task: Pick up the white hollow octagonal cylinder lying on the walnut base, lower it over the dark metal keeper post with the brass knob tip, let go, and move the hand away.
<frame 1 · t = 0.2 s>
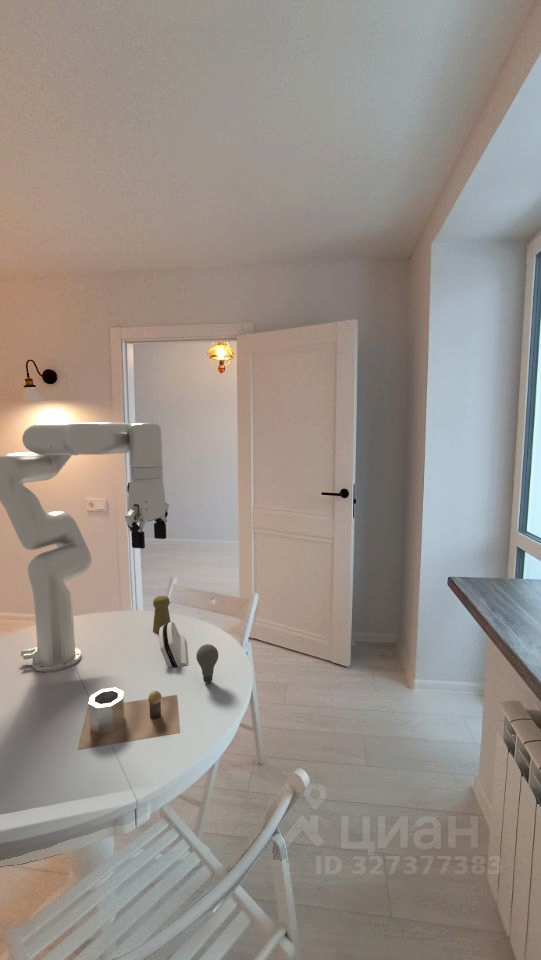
hand: (149, 543, 111), 37 cm above the table, tool pointing down, fingers open, 9 cm apart
light bulb: (208, 683, 115), on the table
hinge: (173, 657, 129), on the table
cork: (162, 630, 146), on the table
white hollow octagonal cylinder: (107, 723, 97), point 1 cm above the table, touching keeper base
keeper base: (132, 726, 98), on the table
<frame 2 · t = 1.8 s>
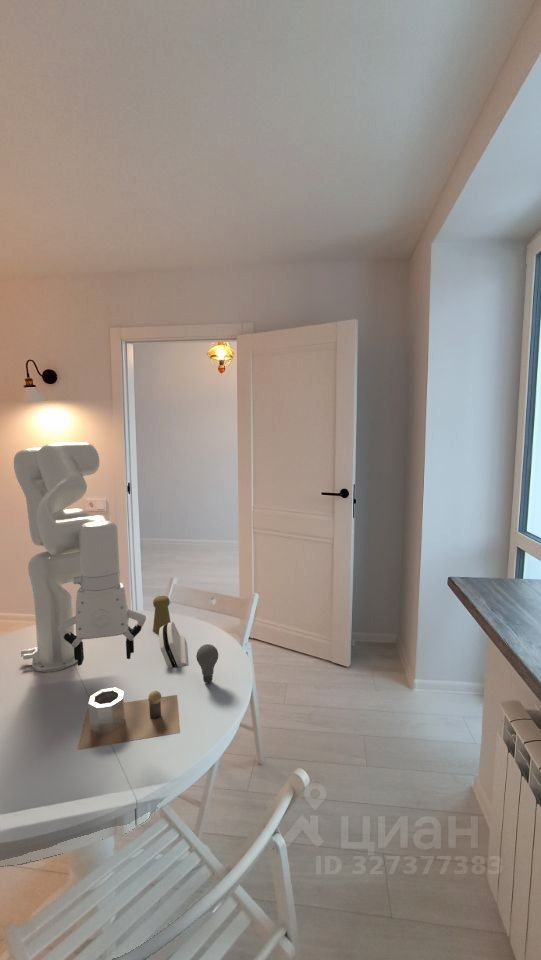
hand: (105, 659, 95), 16 cm above the table, tool pointing down, fingers open, 9 cm apart
nothing on the table moved.
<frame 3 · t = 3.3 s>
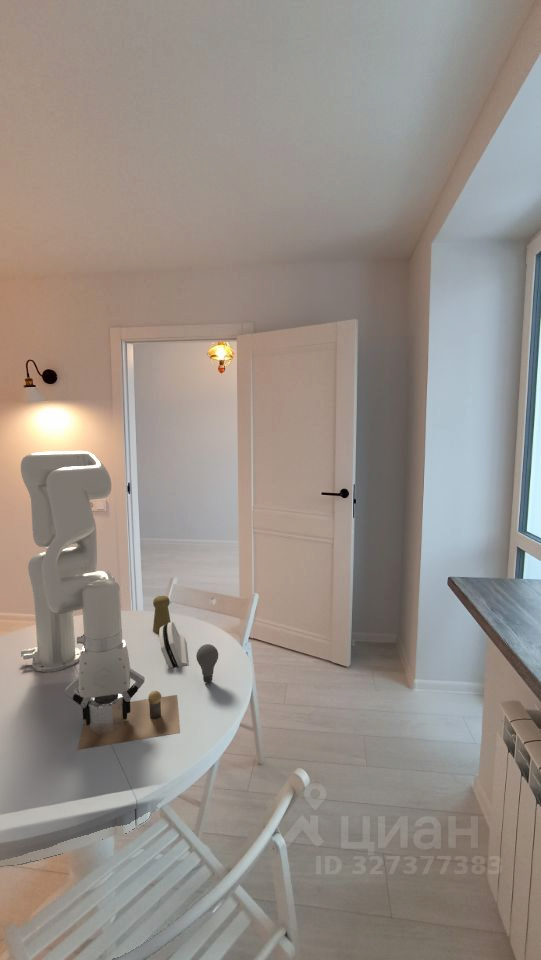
hand: (107, 717, 97), 3 cm above the table, tool pointing down, fingers closed on white hollow octagonal cylinder, 6 cm apart
white hollow octagonal cylinder: (107, 723, 97), point 2 cm above the table, touching gripper, keeper base
everything else where it was.
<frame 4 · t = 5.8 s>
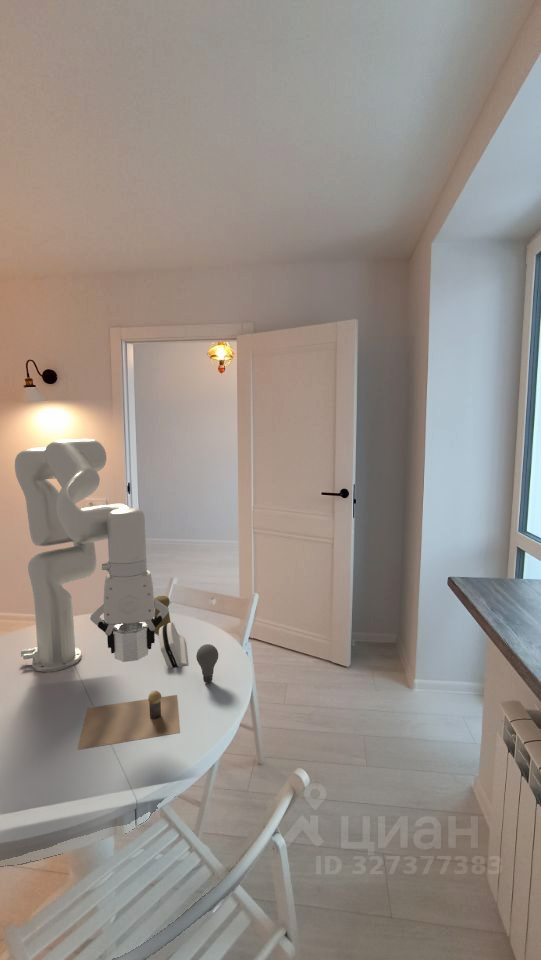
hand: (131, 647, 96), 18 cm above the table, tool pointing down, fingers closed on white hollow octagonal cylinder, 6 cm apart
white hollow octagonal cylinder: (131, 653, 97), point 17 cm above the table, touching gripper
everything else where it was.
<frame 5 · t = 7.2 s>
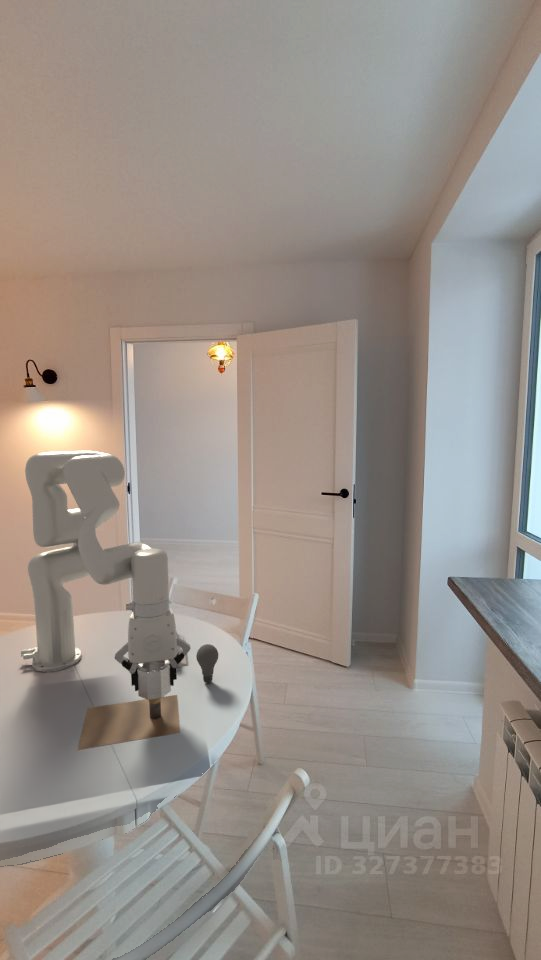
hand: (154, 684, 99), 9 cm above the table, tool pointing down, fingers closed on white hollow octagonal cylinder, 6 cm apart
white hollow octagonal cylinder: (154, 690, 99), point 8 cm above the table, touching gripper
everything else where it was.
when the fingers open (5 cm above the table, at t = 8.4 s): white hollow octagonal cylinder drops 2 cm, resting on keeper base.
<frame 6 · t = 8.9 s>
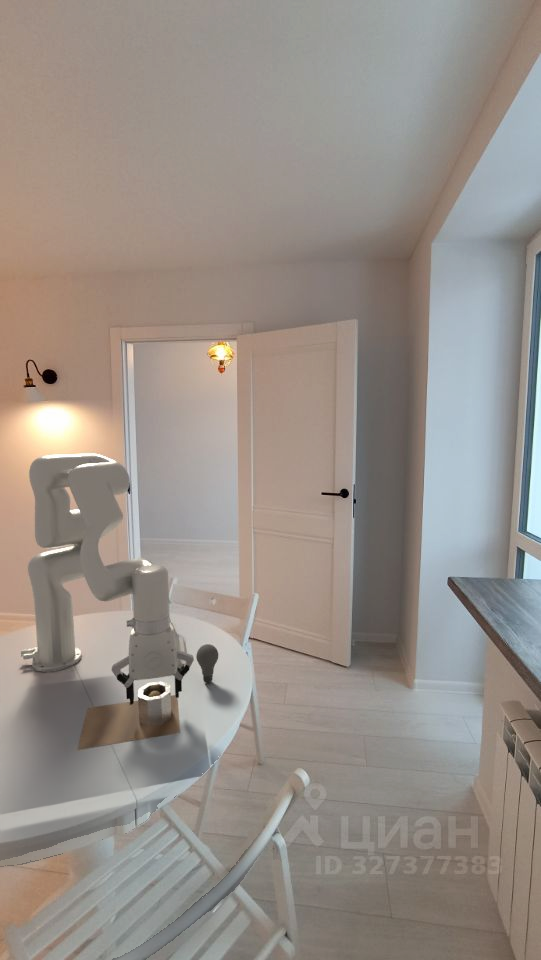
hand: (154, 697, 99), 6 cm above the table, tool pointing down, fingers open, 9 cm apart
white hollow octagonal cylinder: (155, 716, 99), point 1 cm above the table, touching keeper base
everything else where it was.
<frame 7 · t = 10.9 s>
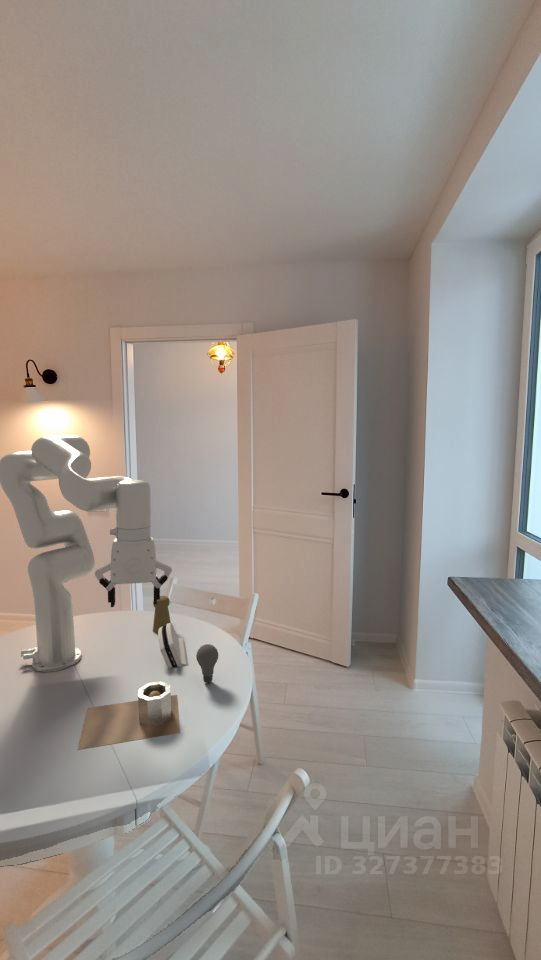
hand: (134, 603, 106), 24 cm above the table, tool pointing down, fingers open, 9 cm apart
nothing on the table moved.
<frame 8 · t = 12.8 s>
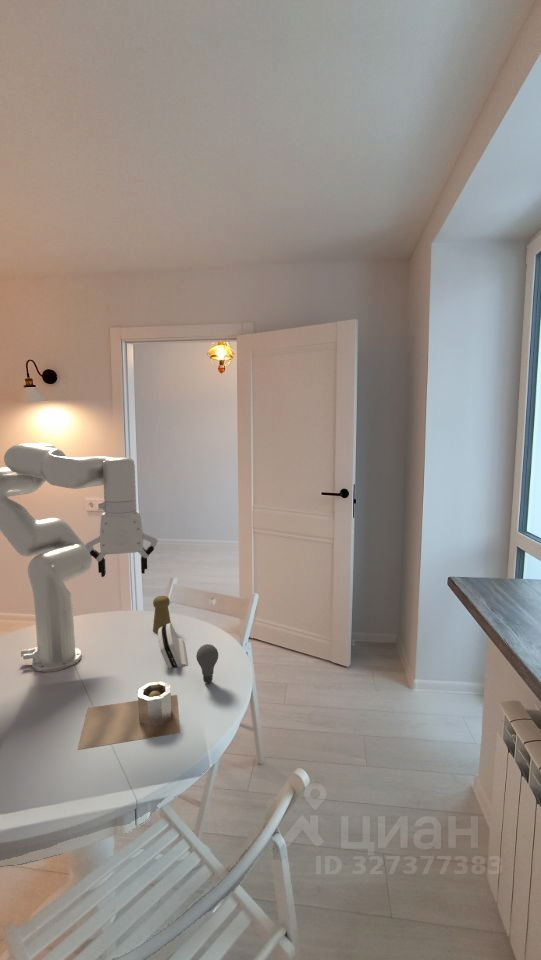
hand: (123, 573, 114), 28 cm above the table, tool pointing down, fingers open, 9 cm apart
nothing on the table moved.
at the end: white hollow octagonal cylinder 0.0 cm from the target spot on the keeper base, point 1.5 cm above the keeper base's base; white hollow octagonal cylinder tilted 0°; the gripper is holding nothing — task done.
